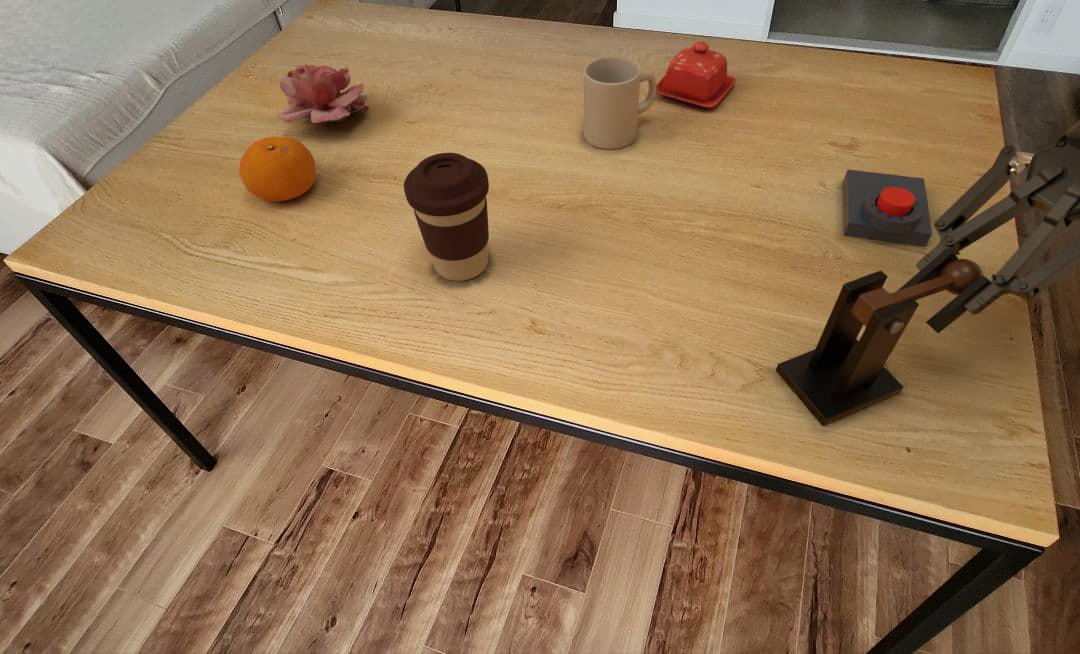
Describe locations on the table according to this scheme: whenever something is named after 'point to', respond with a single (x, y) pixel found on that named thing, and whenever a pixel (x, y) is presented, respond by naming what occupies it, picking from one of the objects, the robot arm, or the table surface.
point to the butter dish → (697, 76)
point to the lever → (919, 289)
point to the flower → (320, 94)
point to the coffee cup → (451, 213)
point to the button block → (878, 225)
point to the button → (895, 201)
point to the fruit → (277, 168)
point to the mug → (614, 101)
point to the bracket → (850, 356)
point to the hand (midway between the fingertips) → (916, 313)
